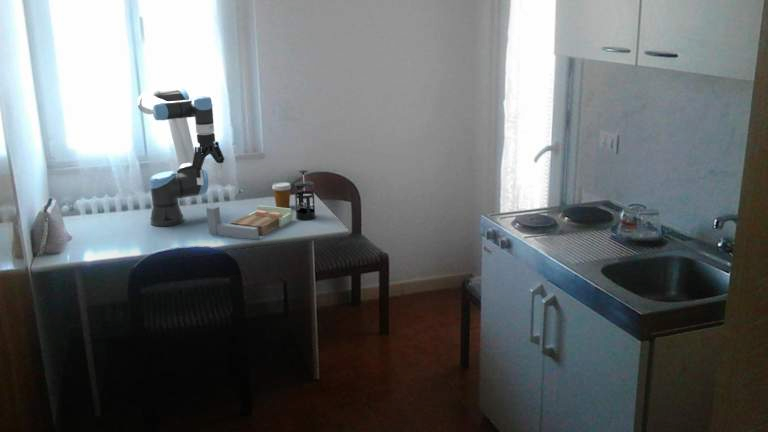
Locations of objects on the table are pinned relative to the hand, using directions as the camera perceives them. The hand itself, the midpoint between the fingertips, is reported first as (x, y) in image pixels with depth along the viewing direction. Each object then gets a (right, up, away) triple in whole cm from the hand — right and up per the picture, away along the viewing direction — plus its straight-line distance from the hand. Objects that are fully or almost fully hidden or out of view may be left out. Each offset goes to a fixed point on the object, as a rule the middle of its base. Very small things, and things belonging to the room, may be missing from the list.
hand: (210, 181), depth 315 cm
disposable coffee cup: (+26, -11, +44) cm, 52 cm away
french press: (+39, -16, +27) cm, 50 cm away
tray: (+23, -18, +21) cm, 36 cm away
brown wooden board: (+18, -21, +11) cm, 30 cm away
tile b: (+26, -17, +14) cm, 34 cm away
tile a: (+19, -16, +18) cm, 30 cm away
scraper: (+10, -24, +3) cm, 26 cm away
